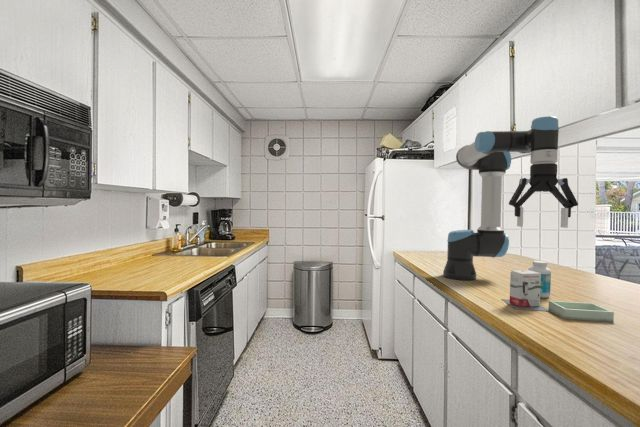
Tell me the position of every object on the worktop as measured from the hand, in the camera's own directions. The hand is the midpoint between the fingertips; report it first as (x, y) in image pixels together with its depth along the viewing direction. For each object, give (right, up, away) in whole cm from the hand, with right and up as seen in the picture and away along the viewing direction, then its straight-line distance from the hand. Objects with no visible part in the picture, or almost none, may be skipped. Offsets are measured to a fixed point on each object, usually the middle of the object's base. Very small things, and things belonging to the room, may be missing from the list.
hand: (541, 227), depth 110 cm
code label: (-3, -28, +5) cm, 28 cm away
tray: (+8, -28, -5) cm, 30 cm away
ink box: (-3, -28, +5) cm, 28 cm away
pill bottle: (+11, -28, +18) cm, 35 cm away
